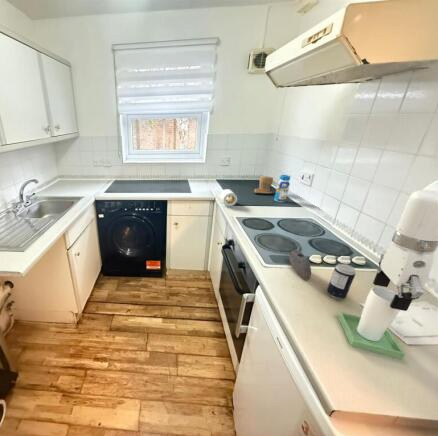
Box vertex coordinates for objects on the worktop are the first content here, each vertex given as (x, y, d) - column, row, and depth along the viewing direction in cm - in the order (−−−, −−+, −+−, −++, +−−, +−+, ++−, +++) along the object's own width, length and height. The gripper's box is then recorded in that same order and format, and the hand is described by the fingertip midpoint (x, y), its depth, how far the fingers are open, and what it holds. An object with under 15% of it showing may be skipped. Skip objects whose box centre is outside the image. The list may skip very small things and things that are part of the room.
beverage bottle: (276, 198, 192) (281, 173, 185) (287, 200, 187) (293, 175, 179) (272, 200, 187) (277, 175, 179) (283, 203, 181) (289, 177, 174)
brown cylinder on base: (269, 191, 211) (272, 174, 205) (273, 195, 200) (277, 177, 194) (251, 190, 213) (254, 174, 207) (254, 194, 202) (257, 177, 196)
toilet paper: (219, 201, 185) (220, 189, 181) (232, 201, 185) (234, 189, 181) (222, 205, 176) (224, 193, 172) (236, 206, 176) (238, 193, 172)
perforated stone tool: (313, 284, 92) (318, 269, 90) (298, 282, 93) (303, 267, 91) (299, 263, 106) (303, 249, 103) (286, 261, 107) (289, 248, 104)
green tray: (381, 326, 74) (383, 322, 73) (402, 359, 63) (405, 354, 63) (337, 316, 77) (339, 311, 77) (351, 346, 67) (353, 341, 67)
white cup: (388, 347, 66) (411, 305, 60) (359, 340, 68) (378, 300, 62) (375, 328, 72) (395, 289, 66) (349, 323, 74) (366, 284, 68)
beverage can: (348, 302, 83) (359, 273, 79) (329, 298, 85) (339, 270, 81) (342, 291, 88) (352, 264, 84) (324, 288, 90) (333, 261, 86)
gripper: (462, 262, 49) (426, 323, 56) (413, 228, 64) (389, 280, 71) (414, 256, 52) (386, 315, 59) (378, 225, 67) (358, 275, 73)
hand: (388, 296), depth 65 cm, fingers open, 9 cm apart
